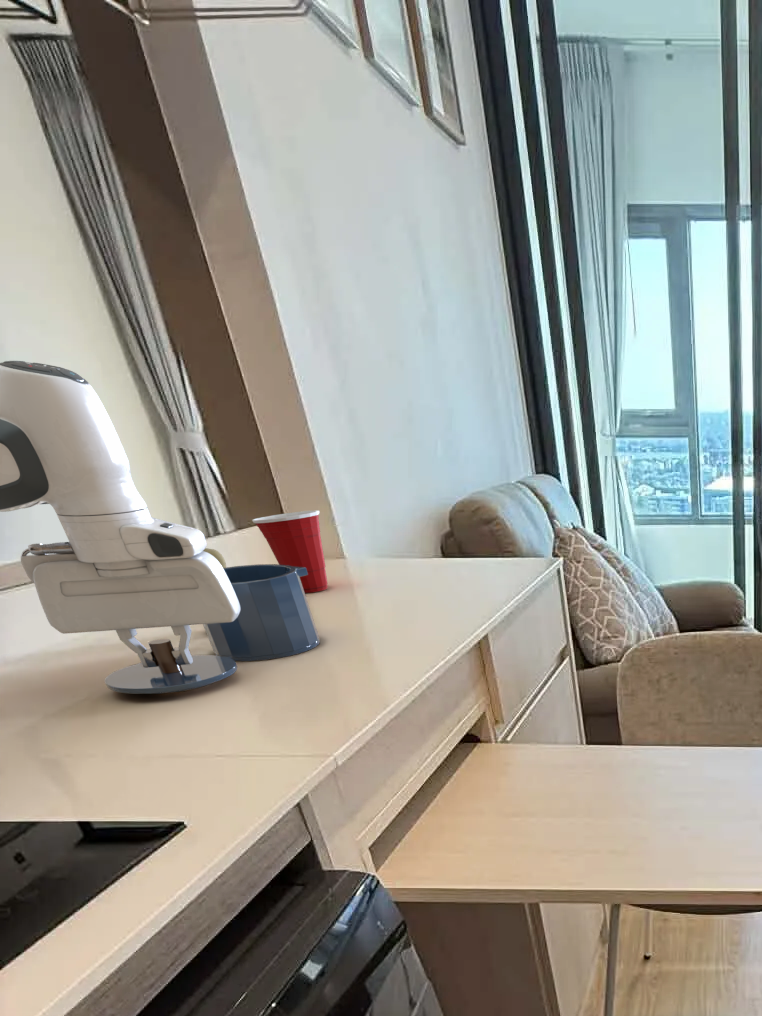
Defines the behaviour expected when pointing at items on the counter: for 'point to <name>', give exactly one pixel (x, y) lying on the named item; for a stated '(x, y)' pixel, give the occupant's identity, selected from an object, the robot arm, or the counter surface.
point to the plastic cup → (297, 545)
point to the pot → (265, 615)
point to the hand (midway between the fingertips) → (169, 664)
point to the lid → (170, 672)
